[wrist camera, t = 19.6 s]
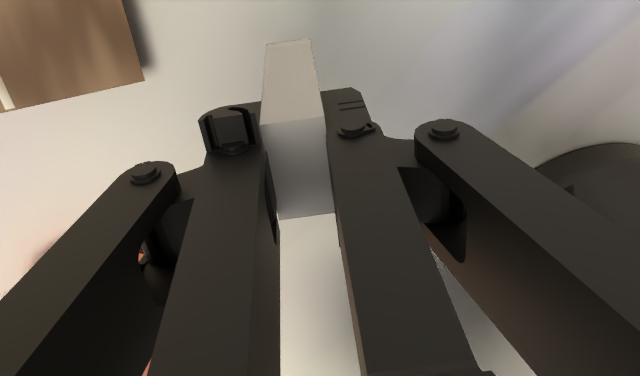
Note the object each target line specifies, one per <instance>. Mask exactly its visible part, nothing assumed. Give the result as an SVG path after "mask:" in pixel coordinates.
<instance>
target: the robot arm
mask: <svg viewBox="0 0 640 376" xmlns="http://www.w3.org/2000/svg"><path fill="white" fill-rule="evenodd" d="M198 123H199V126H200V130H201V133H202V137H203V141H204V144H205V148H206V151H207V153H206V157H205V161H204V164H203V166H201V167H199V168H196V169H193V170H191V171H187V172H184V173H181V174H178V175H177V174H176V171H175V168H174V166H173V165H172V164H170V163H169V162H164V161H154V162H151V161H148V162H143V164H142V163H140V164H137V165H135V166H134V167H133V168H131V169H128V170H127V171H125V172H124V173H123V174H121V175H120V176H119V177H118V178H117V179H116V180H115V181H114V182H113V183H112V184H111V185H110V186H109V187H108V189H107V190H106V191H105V192H104V193H103V194H102V195H101V196H100V197H99V198H98V199H97V200H96V201H95V202H94V203H93V204H92V205H91V206H90V207H89V208H88V209H87V210H86V212H85V213H84V214H83V215H82V216H81V217H80V218H79V219H78V220H77V221H76V222H75V223H74V224H73V225H72V226H71V227H70V228H69V229H68V230H67V231H66V232H65V233H64V235H63V236H62V237H61V238H60V239H59V240H58V241H57V242H56V243H55V244H54V245H53V246H52V247H51V248H50V249H49V250H48V251H47V252H46V253H45V254H44V255H43V256H42V258H41V259H40V260H39V261H38V262H37V263H36V264H35V265H34V266H33V267H32V268H31V269H30V270H29V271H28V272H27V273H26V274H25V275H24V276H23V277H22V278H21V280H20V281H19V282H18V283H17V284H16V285H15V286H14V287H13V288H12V289H11V290H10V291H9V292H8V293H7V294H6V295H5V296H4V297H3V298H2V299H1V300H0V376H142V375H143V373H144V371H145V369H146V367H147V365H148V364H149V362H150V365H149V369H148V372H147V376H280V230H279V225H278V220H277V216H276V215H277V212H278V217H279V220H284V219H292V218H299V217H306V216H313V215H320V214H328V213H335V215H336V223H337V231H338V239H339V247H341V254H342V260H343V266H344V272H345V278H346V285H347V291H348V297H349V303H350V309H351V315H352V322H353V328H354V334H355V340H356V346H357V353H358V359H359V365H360V371H361V376H496V375H495V374H494V373H493V372H492V371H484V372H483V371H482V370H481V369H480V368H479V367H478V365H477V363H476V361H475V358H474V356H473V353H472V351H471V348H470V346H469V344H468V341H467V339H466V336H465V334H464V331H463V329H462V326H461V324H460V321H459V319H458V316H457V314H456V312H455V309H454V307H453V304H452V302H451V299H450V297H449V294H448V292H447V289H446V287H445V285H444V282H443V280H442V277H441V275H440V272H439V270H438V267H437V265H436V262H435V260H434V258H433V255H432V253H431V250H430V248H431V249H432V250H433V251H434V252H435V254H436V255H437V256H438V257H439V258H440V260H441V261H442V262H443V263H444V264H445V266H446V267H447V268H448V269H449V270H450V272H451V273H452V274H453V275H454V276H455V278H456V279H457V280H458V281H459V282H460V284H461V285H462V286H463V287H464V288H465V290H466V291H467V292H468V293H469V294H470V296H471V297H472V298H473V299H474V300H475V302H476V303H477V304H478V305H479V306H480V308H481V309H482V310H483V311H484V312H485V314H486V315H487V316H488V317H489V318H490V320H491V321H492V322H493V323H494V324H495V326H496V327H497V328H498V329H499V330H500V332H501V333H502V334H503V335H504V336H505V338H506V339H507V340H508V341H509V342H510V344H511V345H512V346H513V347H514V348H515V350H516V351H517V352H518V353H519V354H520V356H521V357H522V358H523V359H524V360H525V362H526V363H527V364H528V365H529V366H530V368H531V369H532V370H533V371H534V372H535V374H536V375H537V376H640V145H635V144H605V145H598V146H593V147H588V148H584V149H580V150H577V151H574V152H571V153H568V154H566V155H563V156H561V157H558V158H556V159H554V160H552V161H550V162H548V163H546V164H544V165H543V166H541V167H539V168H537V169H536V170H534V169H533V168H531V167H530V166H529V165H527V164H526V163H524V162H523V161H521V160H520V159H518V158H517V157H515V156H514V155H512V154H511V153H509V152H508V151H507V150H505V149H504V148H502V147H501V146H499V145H498V144H496V143H495V142H493V141H492V140H490V139H489V138H487V137H486V136H484V135H483V134H482V133H480V132H479V131H477V130H476V129H474V128H473V127H471V126H470V125H467V124H465V123H463V122H459V121H454V120H452V119H446V120H444V119H438V120H436V121H430V122H427V123H425V124H422V125H420V126H419V127H418V128H417V129H415V133H414V140H406V139H394V138H389V137H386V136H384V135H383V132H382V130H381V127H380V126H379V125H378V124H377V123H374V122H372V121H371V118H370V116H369V113H368V111H367V108H366V105H365V103H364V101H363V98H362V95H361V93H360V92H358V91H357V90H355V89H353V88H352V87H350V88H343V89H336V90H328V91H321V92H320V91H319V85H318V80H317V75H316V70H315V64H314V59H313V54H312V49H311V43H310V38H309V39H302V40H294V41H287V42H280V43H273V44H266V56H265V67H264V79H263V91H262V101H259V102H252V103H245V104H238V105H229V106H224V107H219V108H216V109H214V110H211V111H209V112H207V113H205V114H204V115H202V116H201V117H200V119H199V120H198ZM429 246H430V248H429ZM140 248H142V250H143V253H144V255H143V257H142V258H141V260H140V261H139V260H138V259H139V250H140ZM150 360H151V361H150Z"/></svg>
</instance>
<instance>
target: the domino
mask: <svg viewBox="0 0 640 376" xmlns="http://www.w3.org/2000/svg"><path fill="white" fill-rule="evenodd" d="M142 81H145V79H144V76H143V72H142V69H141V66H140V62H139V59H138V55H137V52H136V48H135V45H134V42H133V38H132V35H131V31H130V28H129V24H128V21H127V17H126V14H125V11H124V7H123V4H122V0H0V113H4V112H8V111H12V110H17V109H21V108H26V107H30V106H35V105H39V104H44V103H48V102H52V101H57V100H61V99H66V98H70V97H75V96H79V95H84V94H88V93H93V92H97V91H101V90H106V89H110V88H115V87H119V86H124V85H128V84H133V83H137V82H142Z"/></svg>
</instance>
